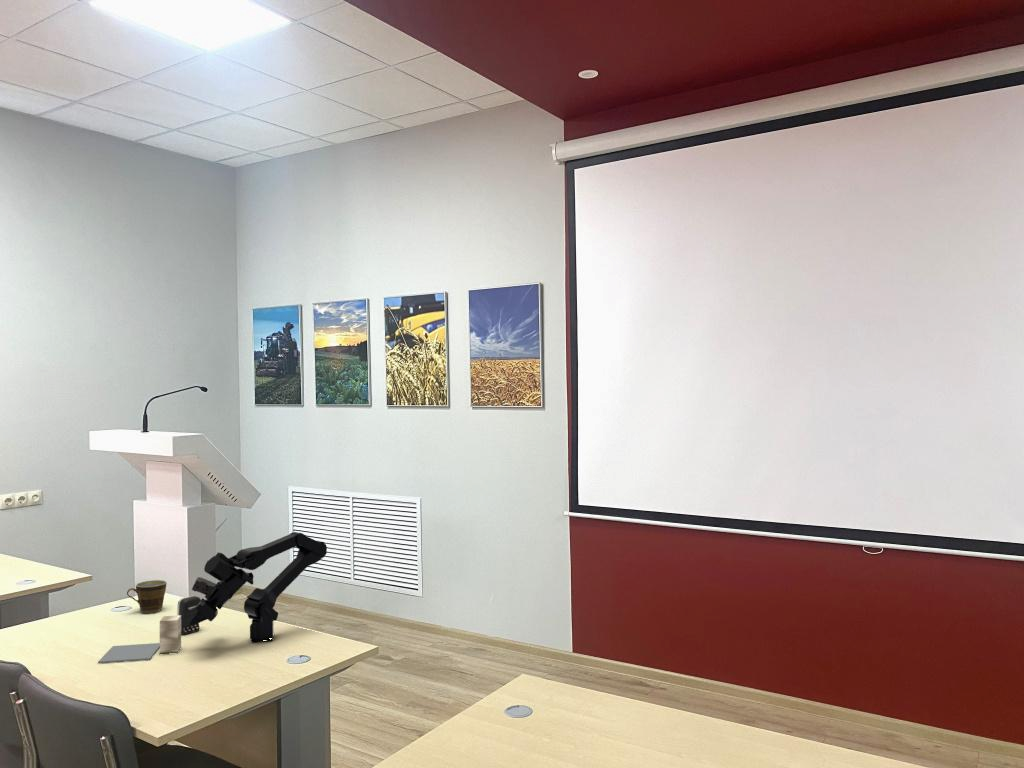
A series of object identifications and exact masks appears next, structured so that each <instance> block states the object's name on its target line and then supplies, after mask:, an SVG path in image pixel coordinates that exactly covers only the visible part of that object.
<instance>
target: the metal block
mask: <svg viewBox="0 0 1024 768" xmlns="http://www.w3.org/2000/svg"><path fill="white" fill-rule="evenodd" d="M159 643H160V648H159V655H160V654H163V655H170V654H169V653H177V654H179V652H180V651H179V650H181V649H182V634H181V615H178V614H177V615H164V616H163V617H162V618H161V619H160V620H159ZM180 648H181V649H180ZM178 651H179V652H178Z"/></svg>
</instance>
